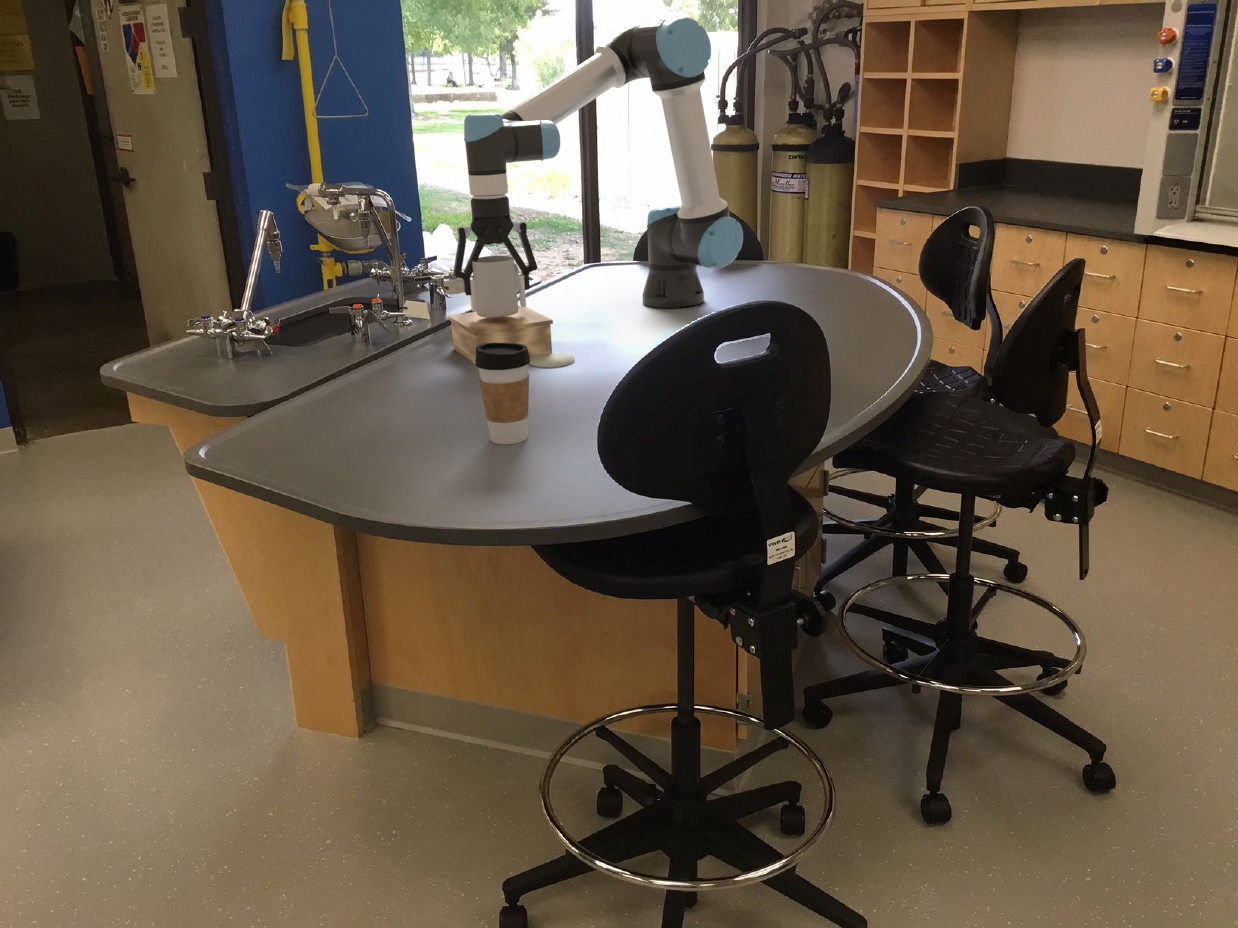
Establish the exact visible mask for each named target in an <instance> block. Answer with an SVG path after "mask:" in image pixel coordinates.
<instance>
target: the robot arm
mask: <svg viewBox="0 0 1238 928" xmlns="http://www.w3.org/2000/svg"><path fill="white" fill-rule="evenodd" d="M711 56H712V45H711V40H710V37H709V34H708V32H707V31H706V29H705V28H704V26H703V25H702V24H701V23H699V22H698V21H697V20H696V19H694V18H691V17H688V16H677V15H674V16H666V17H661V18H655V19H654V18H653V19H645V20H644V19H643V20H640V21H638V22H635V23H633V24H630V25H629V26H627V27H626V28H624V29H623V30H622V31H620V32H618V33H617V34H615V35H614V36H612V37H611V38H609V39H607V40H606V41H605V42H603V43H602V44H600V45H599V46H598V47H596V49H595V51H594V55H592V56H591V57H589V58H588V59H586V60H585V61H583V62H582V63H580V64H578V65H577V66H576V67H574V68H573V69H571V70H570V71H567V73H565V74H563V75H562V76H560V77H558V78H557V79H556V80H554V81H553V82H551V83H549V84H548V85H547V86H546V85H545V87H544V88H542V89H540V90H539V91H537V92H536V93H534V94H532V95H531V96H530V97H528V98H527V99H525V100H524V101H522V102H521V103H519V104H518V105H516V106H514V107H513V108H511V109H510V110H508V111H506V112H505V113H503V114H501V113H499V112H489V113H486V112H485V113H471V114H468V115H466V116H465V117H464V121H463V122H464V123H463V124H464V125H463V130H464V131H463V132H464V133H463V134H464V137H463V141H464V145H465V153H466V163H467V173H468V174H467V175H468V184H469V187H468V188H469V195H470V196H472V198H471V199H470V211H471V224H470V225H465V226H461V225H458V226H457V228H456V229H457V230H456V231H457V236H458V241H457V247H456V252H455V259H454V266H453V275H454V276H455V277H456V278H459V279H462V282H463V291H464V294H465V296H469V299H470V307H471V308H470V309H471V311H472V312H477V308H476V296H475V286H474V279H473V277H472V276H473V267H472V261H474V262H477V260H478V258H480V257H481V253H482V251H483V250H484V248H485V246H489V245H493V244H496V245H501V244H503V245H504V246H505V247H506V249H507V250H508V252H509V254H510V256H511V257H513V258H514V263H515V264H516V265H517V267H518V269H520V271H521V272H519V273H518V283H519V290H518V293H519V294H518V295H519V304H520V305H519V306H522V307H527V300H526V290H530V273H532V272H534V271H537V270H538V264H537V261H536V259H535V256H534V252H533V250H532V246H531V243H530V241H529V238H528V235H527V233H528V231H527V229H528V228H527V227H528V225H527V223H526V222H525V221H523V220H522V221H521V220H520V221H519V222H518V221H513V220H512V219H511V218H512V217H511V212H510V211H511V210H510V201H509V199H510V198H509V196H507V195H506V194H508V193H509V187H508V176H507V164H508V163H510V164H511V163H520V162H532V161H544V160H550V159H555V157H557V155H558V154H559V151H560V149H561V135H560V132H559V128H558V126H557V124H559V123H560V122H562V121H563V120H565V119H566V118H568V117H570V116H571V115H573V114H574V113H575V112H577V111H578V110H580V109H582V108H583V107H585V106H586V105H587V104H589V103H591V102H592V101H594V100H595V99H596V98H598V97H600V96H601V95H603V94H604V93H605V92H607V91H609V90H610V89H612V88H615V89H619V88H622V87H623V86H625V85H626V84H628V83H630V82H632V81H636V80H640V79H647V78H648V79H649V80H650V86H651V90H652V93H654V94H655V95H657V96H658V97H659V98H660V99H661V104H662V110H663V114H664V120H665V124H666V129H667V134H668V140H669V145H670V150H671V155H672V160H673V166H674V170H675V175H676V179H677V180H676V181H677V184H678V190H679V191H678V192H679V195H680V201H681V205H676V206H675V205H674V206H668V207H659V208H653V209H651V210H650V211H649V212H648V214H647V223H646V224H647V225H646V229H647V249H648V251H647V253H648V254H647V255H648V275H647V278H646V280H645V284H644V288H643V292H642V304H643V305H645V306H648V307H651V308H657V309H659V308H660V309H679V307H682V308H687V307H686V306H690V307H692V306H691V305H695V306H698V304H699V305H700V303H701V302H703V301H704V302H705V291H704V287H703V286H702V283H701V279H700V277H699V273H698V270H697V266H701V267H704V268H707V269H713V268H714V269H720V268H725V267H726V266H727V267H728V266H729V265H730V264H731V263H733V262H734V261H735V260H736V258H737V257H738V255H739V252H740V251H741V250H742V246H743V241H744V231H743V228H742V225H741V223H740V222H739V221H738V220H736V218H734V217H731V216H730V209H729V204H728V201H726V200H725V199H723V198H721V197H720V192H719V188H718V181H717V177H716V176H717V175H716V170H715V164H714V159H713V153H712V149H711V144H710V138H709V131H708V126H707V120H706V115H705V111H704V110H705V109H704V104H703V99H702V93H701V87H702V85H703V84H704V83H705V81H706V75H705V70H706V68H708V65H709V61H710V59H711ZM513 228H514V231H515V232H516V233H518V236H519V240H520V242H521V245H522V248H523V251H524V254H525V258H526V261H527V265H526V263H525V262H524V260H523V259H522V257H521V255H520V254H519V253H518V251H517V249H516V248H515V246H514V245H513V242H512V241H511V240H510V238H509V235H510V233H511V231H513ZM471 232H472V233H473V234H474V235H475V237H476V240H475V241H474V246H473V249H472V251H471V254H470V256H469V257H468V261H467V263H466V265H465V268H464V270H463V264H464V257H465V251H466V246H467V244H466V243H467V238H469V236H470V233H471ZM462 270H463V271H462ZM704 302H703V303H704ZM701 304H702V303H701Z"/></svg>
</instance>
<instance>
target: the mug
mask: <svg viewBox="0 0 1238 928" xmlns="http://www.w3.org/2000/svg"><path fill="white" fill-rule="evenodd" d="M472 267H473V272H472V276H473V277H472V278H473V279H474V286H475V296H476V308H477V315H478V316H481V317H490V318H493V317H505V316H510V315H513V314H516V313H517V312H518V306H519V303H518V302H519V301H518V293H519V283H518V273H520V271H519V267H518V265H517V263H516V262H515V260H514V258H513V257H512V256H511V255H488V256H479V258H478V260H477V262H474V261H472Z"/></svg>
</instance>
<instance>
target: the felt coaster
mask: <svg viewBox="0 0 1238 928" xmlns="http://www.w3.org/2000/svg"><path fill="white" fill-rule="evenodd" d="M573 363H575V356H574V355H572V354H568V353H561V352H560V353H559V352H552V353H550V354H542V355H538V356H535V357H532V358H530V363H529V365H531V366H533V367H534V368H535V367H537V368H541V369H542V368H543V369H544V368H545V369H548V368H549V369H551V368H552V369H553V368H561V367H562V368H563V367H566V366H569V365H572V364H573Z"/></svg>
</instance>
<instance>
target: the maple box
mask: <svg viewBox="0 0 1238 928" xmlns="http://www.w3.org/2000/svg"><path fill="white" fill-rule="evenodd" d="M447 319H448V320H449V321H450V324H451V335H452V343H453V344H452V347H453V350H454V351H455V352H457V353H459V354H460V355H461V356H463V357H465V358H466V360H469V362H471V363H472V364H474V365H476V362H475V359H476V347H477V346H478V345H481V344H484V343H517V344H523V345H525V346H527V348H528V353H529V355H530V359H531V358H532V357H535V356H538V355H542V354H550V353H553V345H552V330H551V327H552V326H551V325H552V324H553V323H554V320H553V319H551V318H550V317H547V316H545V315H544V314H542V313H539V312H537V311H536V310H533V309H531V308H530V307H527V306H526V307H522V306H521V305H518V312H517V313H516V314H513V315H510V316H505V317H493V318H490V317H481V316H478V315H477V312H473V311H472V312H465V313H458V314H450V315H447Z"/></svg>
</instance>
